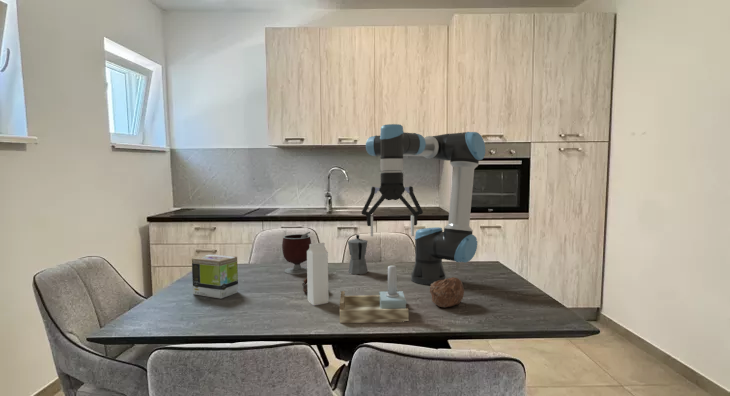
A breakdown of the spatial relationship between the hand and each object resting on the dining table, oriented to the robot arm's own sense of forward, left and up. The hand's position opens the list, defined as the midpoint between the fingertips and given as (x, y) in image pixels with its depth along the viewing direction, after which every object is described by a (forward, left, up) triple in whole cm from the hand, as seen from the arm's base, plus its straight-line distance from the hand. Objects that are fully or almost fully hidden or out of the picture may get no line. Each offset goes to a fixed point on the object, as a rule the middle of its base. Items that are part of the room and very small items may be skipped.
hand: (392, 235), depth 131 cm
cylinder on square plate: (0, 0, -25) cm, 26 cm away
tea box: (+69, -25, -27) cm, 78 cm away
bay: (+6, -2, -27) cm, 27 cm away
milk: (+27, -13, -27) cm, 40 cm away
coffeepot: (+12, -54, -27) cm, 61 cm away
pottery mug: (+28, -25, -27) cm, 47 cm away
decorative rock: (-20, -8, -27) cm, 35 cm away
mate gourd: (+41, -58, -27) cm, 76 cm away
